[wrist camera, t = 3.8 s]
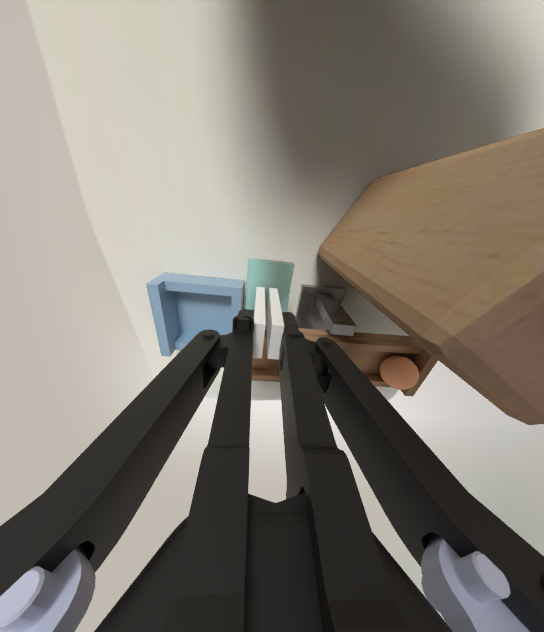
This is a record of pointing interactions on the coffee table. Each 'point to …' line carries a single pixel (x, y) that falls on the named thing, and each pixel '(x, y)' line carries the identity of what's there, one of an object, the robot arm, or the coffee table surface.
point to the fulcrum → (323, 310)
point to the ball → (399, 372)
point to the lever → (358, 347)
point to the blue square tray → (192, 307)
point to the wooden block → (460, 264)
